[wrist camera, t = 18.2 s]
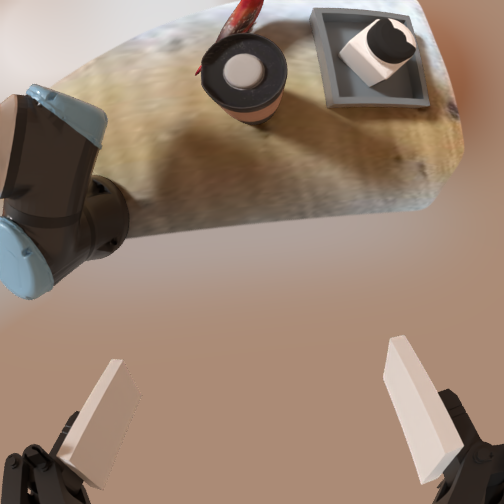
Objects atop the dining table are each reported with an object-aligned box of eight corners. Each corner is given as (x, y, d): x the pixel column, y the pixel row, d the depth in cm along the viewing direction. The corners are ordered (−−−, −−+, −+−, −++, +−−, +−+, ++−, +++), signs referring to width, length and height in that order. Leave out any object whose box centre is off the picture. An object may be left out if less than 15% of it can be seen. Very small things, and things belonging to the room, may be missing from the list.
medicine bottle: (369, 88, 36) (402, 72, 25) (336, 55, 35) (358, 28, 23) (395, 64, 34) (431, 45, 23) (363, 33, 33) (391, 4, 21)
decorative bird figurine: (275, 8, 33) (276, -22, 24) (212, 88, 39) (197, 73, 29) (259, 1, 32) (257, -30, 23) (196, 80, 38) (178, 64, 29)
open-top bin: (326, 108, 39) (333, 104, 35) (309, 19, 33) (313, 7, 29) (416, 108, 37) (430, 106, 33) (398, 24, 32) (409, 16, 28)
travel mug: (289, 102, 39) (307, 69, 20) (253, 136, 41) (243, 128, 22) (252, 70, 37) (242, 17, 19) (217, 104, 39) (180, 74, 21)
